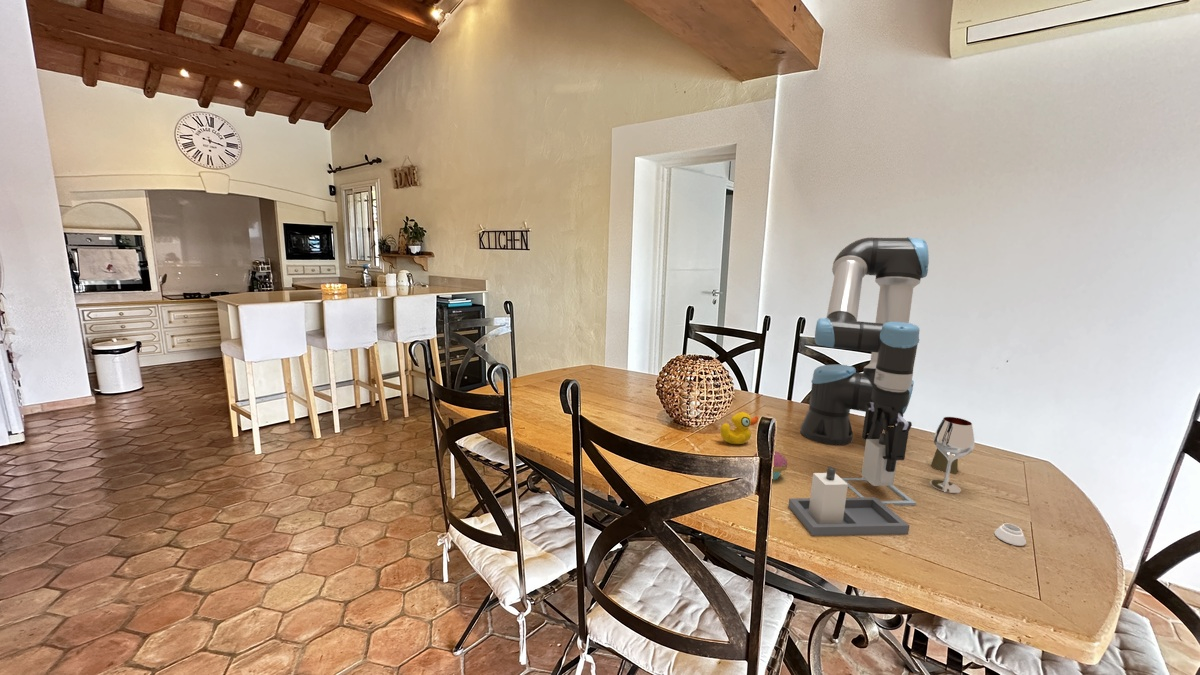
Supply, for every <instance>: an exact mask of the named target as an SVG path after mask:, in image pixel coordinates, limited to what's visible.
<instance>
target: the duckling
mask: <svg viewBox="0 0 1200 675" xmlns="http://www.w3.org/2000/svg"><path fill="white" fill-rule="evenodd" d="M731 422H732V423H733V425H734V427H735V428H734V429H732V428H731V427H730V424H729V423H727V422H724V423H722V425H721V426H720V436H721V438H722V440H724V442H726V443H729V444H732V445H744V444H745V443H747V442H748V441H749V440H750V439H751V437H752V432H751V430H750V429H749V427H750V426H755V425H756V424H757V423H758V422H759V416H758V415H755V416H754V417H751V415H750V414H749V413H747V412H744V411H739V412H737V413H736V414H734V415H733V416H732V417H731Z"/></svg>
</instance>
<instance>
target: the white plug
mask: <svg viewBox="0 0 1200 675" xmlns="http://www.w3.org/2000/svg"><path fill="white" fill-rule="evenodd" d="M836 469H837V468H835V467H833V466H827V469H826V472H814V473H812V480H811V489H810V495H809V496H810V497H809V498H810V504H809V512H808V513H809V515H810V516H811V517H812V518H813V519H814V520H815V522H816V523H817V524H843V517H844V509H845V502H846V498H847V494H848V489H849V487H848V484H847V483H846V482H845V481H846V480H845V481H844V480H842V479H841V478H842V477H840V476H839V475H838V474H837V472H836Z"/></svg>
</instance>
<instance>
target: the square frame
mask: <svg viewBox="0 0 1200 675" xmlns="http://www.w3.org/2000/svg"><path fill="white" fill-rule="evenodd" d="M840 478H841V479H842V480H844V481H845V482H846V483H847V484H848V489H850V490H851V491H852V492H853V493H855V494H856V496H858V498H862V497H865V496H864V495H862V493H860V492H859V491H858V490H857V489H856V488H855V487H854V486H852V485H851V484H850V483H849V481H864V482H865V483H869V482H868V481H867V480H866V479H865V478H864V477H840ZM887 487H888V488H889V489H890V490H891V491H893V492H894V493H896V494H897V495H898V496H900V498H902V499H903V500H880V501H881V502H882V503H884V504H885V505H891V504H892V505H894V506H916V505H917V502H916V501H914V500H913V498H910V497H909V496H908V495H906V494H905V493H904V492H902V490H900V489H898V488H897V487H896V486H895V485H894V484H893V485H888V486H887Z"/></svg>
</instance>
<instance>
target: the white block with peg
mask: <svg viewBox="0 0 1200 675" xmlns="http://www.w3.org/2000/svg"><path fill="white" fill-rule="evenodd" d="M891 454H892V453H891ZM883 456H886V454H885V432H882V433H880V438H879V439H866V440H865V447H864V453H863V461H862V466H861V473H860V474H861V475H860V476H861V477H862V478H865V479H866V480H867V481H868V482H867V483H870V485H872V486H873V487H877V486H878V487H881V486H883V487H884V486H886V487H888V485H893V486H894V483H895V478H896V472H897V471H896V470H897V464H898V460H896V465H895V471H894V472H893V477H892V482H886V483H881V482H879V477H880V471H881V464H882V458H883Z"/></svg>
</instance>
